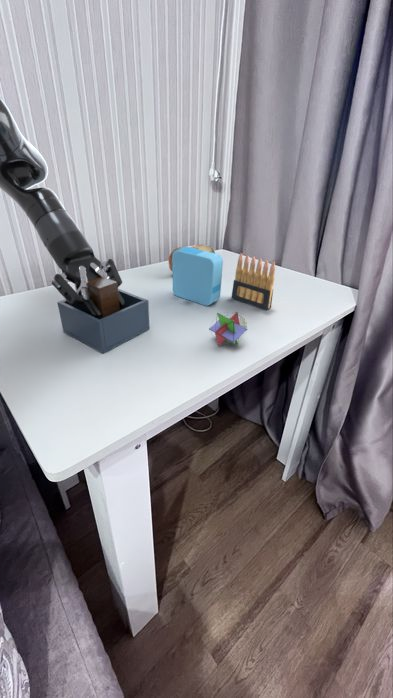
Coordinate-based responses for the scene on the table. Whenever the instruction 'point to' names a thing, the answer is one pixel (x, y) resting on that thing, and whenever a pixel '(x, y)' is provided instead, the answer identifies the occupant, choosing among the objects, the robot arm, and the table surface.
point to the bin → (106, 323)
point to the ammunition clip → (254, 283)
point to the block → (104, 295)
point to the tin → (200, 247)
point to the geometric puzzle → (229, 328)
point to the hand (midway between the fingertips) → (110, 312)
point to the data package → (197, 275)
